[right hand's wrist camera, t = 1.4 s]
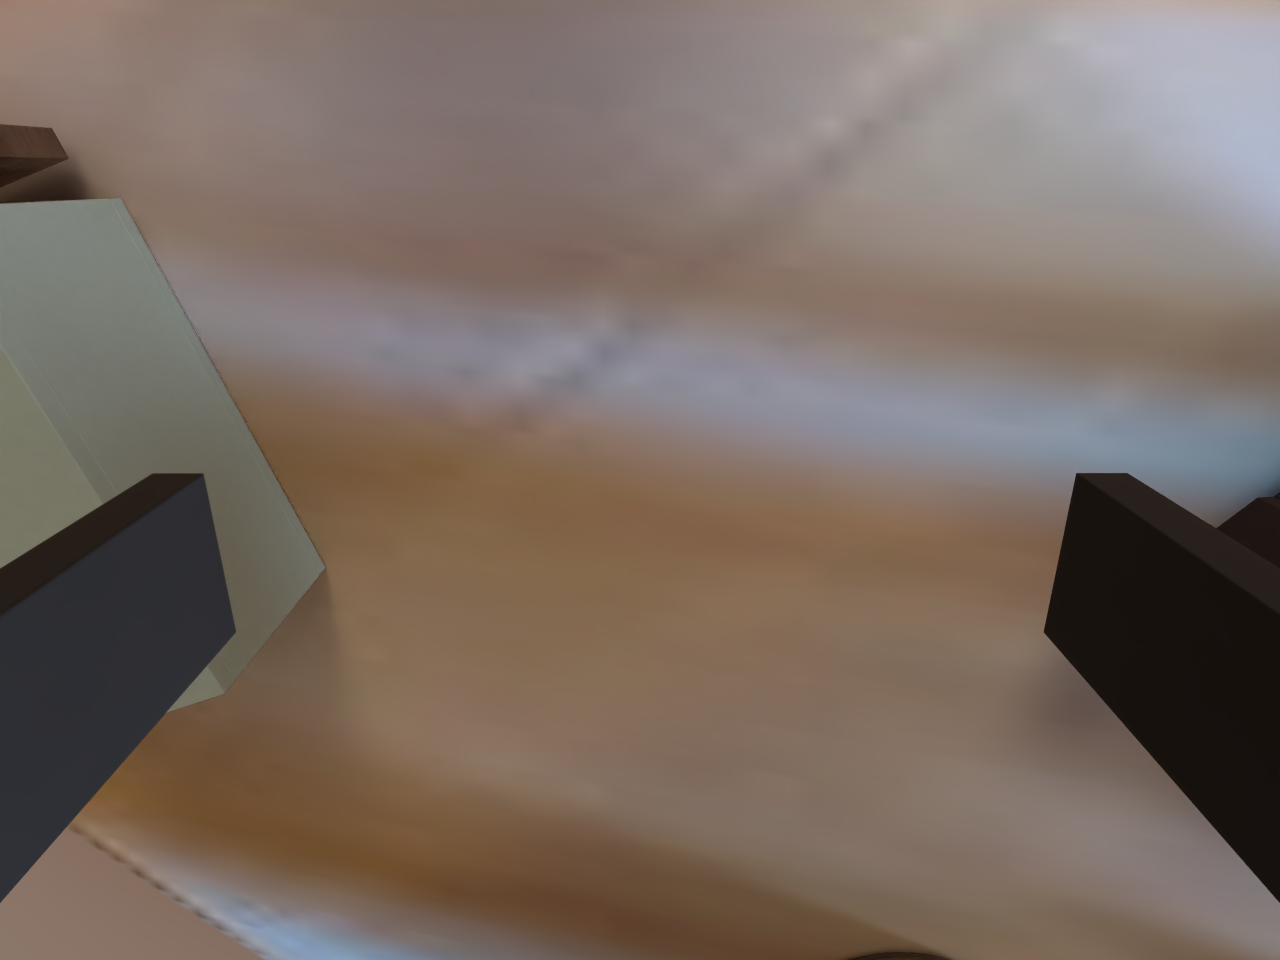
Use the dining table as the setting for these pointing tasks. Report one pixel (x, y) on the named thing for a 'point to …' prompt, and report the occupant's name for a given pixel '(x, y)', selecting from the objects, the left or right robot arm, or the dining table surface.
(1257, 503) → the mechanical component
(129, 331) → the cabinet
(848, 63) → the dining table surface
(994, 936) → the dining table surface
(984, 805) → the dining table surface
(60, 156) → the drawer
